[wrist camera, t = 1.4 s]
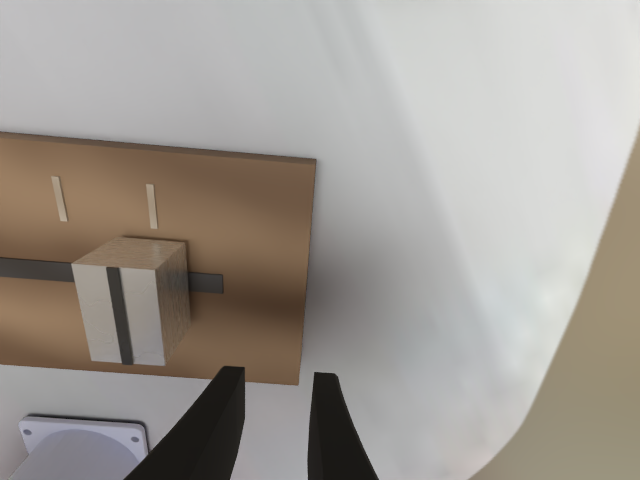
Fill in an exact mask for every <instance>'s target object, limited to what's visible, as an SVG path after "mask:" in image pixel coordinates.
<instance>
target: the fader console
mask: <svg viewBox="0 0 640 480" xmlns="http://www.w3.org/2000/svg"><path fill="white" fill-rule="evenodd" d="M315 169H316V159H309V158H297V157H286V156H274V155H263V154H251V153H240V152H228V151H216V150H205V149H193V148H182V147H170V146H159V145H147V144H136V143H124V142H112V141H101V140H89V139H78V138H66V137H55V136H43V135H31V134H20V133H8V132H0V364H2V365H16V366H30V367H44V368H58V369H72V370H87V371H101V372H115V373H129V374H143V375H157V376H171V377H185V378H199V379H213V378H214V377H215V376H216V374H217V373H218V372H219V370H220V369H221V368H222V367H223V366H237V367H245V382H256V383H270V384H284V385H298V384H299V373H300V362H301V350H302V337H303V324H304V311H305V298H306V285H307V272H308V260H309V247H310V234H311V221H312V208H313V195H314V182H315ZM116 237H125V238H137V239H150V240H162V241H175V242H185V246H186V261H187V275H188V290H189V304H190V318H191V326H190V328H189V329H188V331H187V332H186V334H185V335H184V337H183V339H182V340H181V342H180V343H179V345H178V347H177V348H176V350H175V351H174V353H173V354H172V356H171V358H170V359H169V361H168V362H167V364H166V366H157V365H143V364H133V365H132V366H131V365H122V363H115V362H101V361H91V356H90V351H89V347H88V342H87V337H86V332H85V327H84V323H83V318H82V313H81V308H80V304H79V299H78V294H77V289H76V284H75V280H74V275H73V270H72V265H71V264H72V263H73V262H75V261H77V260H78V259H80V258H82V257H84V256H85V255H87V254H89V253H90V252H92V251H94V250H95V249H97V248H99V247H101V246H102V245H104V244H106V243H107V242H109V241H111V240H113V239H114V238H116Z"/></svg>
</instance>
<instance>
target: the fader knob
mask: <svg viewBox="0 0 640 480" xmlns="http://www.w3.org/2000/svg"><path fill="white" fill-rule="evenodd" d="M71 265H72V270H73V275H74V280H75V284H76V289H77V294H78V299H79V304H80V308H81V313H82V318H83V323H84V327H85V332H86V337H87V342H88V347H89V351H90V356H91V361H101V362H115V363H122V365H131V366H132V365H133V364H143V365H157V366H166V364H167V362H168V361H169V359H170V358H171V356H172V354H173V353H174V351H175V350H176V348H177V347H178V345H179V343H180V342H181V340H182V339H183V337H184V335H185V334H186V332H187V331H188V329H189V328H190V326H191V318H190V304H189V290H188V275H187V261H186V246H185V242H175V241H162V240H150V239H137V238H125V237H116V238H114V239H113V240H111V241H109V242H107V243H106V244H104V245H102V246H101V247H99V248H97V249H95V250H94V251H92V252H90V253H89V254H87V255H85V256H84V257H82V258H80V259H78V260H77V261H75V262H73V263H72V264H71Z"/></svg>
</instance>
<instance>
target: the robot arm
mask: <svg viewBox="0 0 640 480" xmlns="http://www.w3.org/2000/svg"><path fill="white" fill-rule="evenodd" d="M244 420H245V367H237V366H223V367H222V368H221V369H220V370H219V372H218V373H217V374H216V376H215V377H214V378H213V380H212V381H211V382H210V384H209V385H208V386H207V387H206V389H205V390H204V391H203V393H202V394H201V395H200V396H199V397H198V399H197V400H196V401H195V402H194V404H193V405H192V406H191V407H190V408H189V409H188V411H187V412H186V413H185V414H184V415H183V416H182V418H181V419H180V420H179V421H178V422H177V423H176V425H175V426H174V427H173V428H172V429H171V430H170V431H169V433H168V434H167V435H166V436H165V437H164V438H163V439H162V440H161V441H160V442H159V443H158V444H157V445H156V446H155V447H154V449H153V450H152V451H151V452H150V453H149V454H148V449H147V442H146V436H145V430H144V427H143V426H142V425H140V424H134V423H119V422H104V421H89V420H74V419H60V418H45V417H30V416H29V417H24V418H23V419H22V420H21V421H20V422H19V423H18V425H19V429H20V432H21V435H22V438H23V441H24V444H25V446H26V449H27V452H28V457H27V458H26V459H25V460H24V461H23V462H22V463H21V465H20V466H19V467H18V468H17V469H16V470H15V472H14V473H13V474H12V475H11V476H10V477H9V478H8V480H230V477H231V474H232V471H233V467H234V464H235V461H236V457H237V453H238V449H239V444H240V440H241V435H242V430H243V425H244ZM307 462H308V480H379V479H378V477H377V475H376V473H375V471H374V469H373V467H372V465H371V463H370V461H369V459H368V456H367V454H366V452H365V450H364V448H363V445H362V443H361V441H360V438H359V436H358V434H357V431H356V429H355V427H354V424H353V422H352V419H351V417H350V414H349V411H348V409H347V406H346V403H345V400H344V397H343V394H342V391H341V387H340V383H339V379H338V376H337V375H336V374H334V373H320V372H314V382H313V392H312V402H311V412H310V423H309V441H308V460H307Z"/></svg>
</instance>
